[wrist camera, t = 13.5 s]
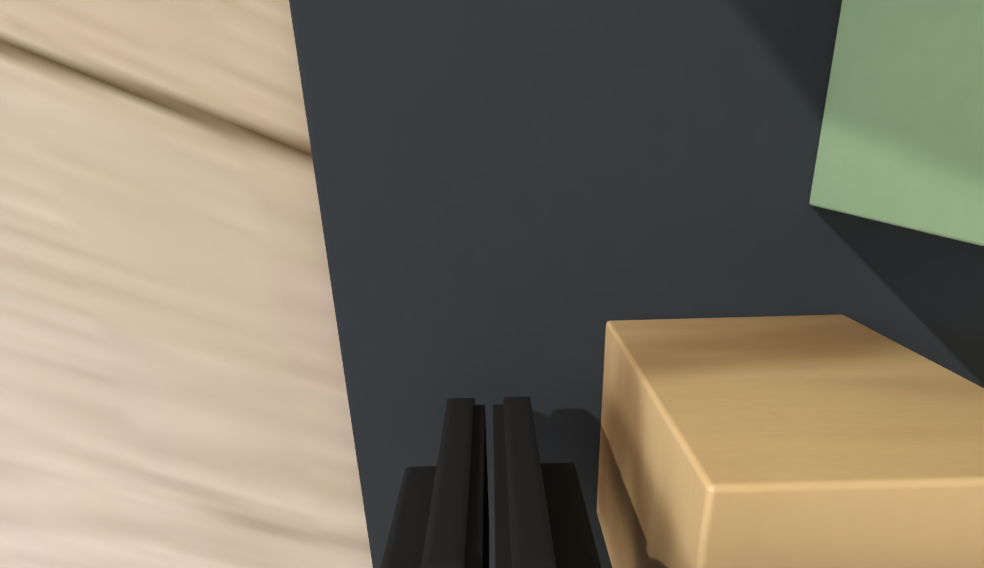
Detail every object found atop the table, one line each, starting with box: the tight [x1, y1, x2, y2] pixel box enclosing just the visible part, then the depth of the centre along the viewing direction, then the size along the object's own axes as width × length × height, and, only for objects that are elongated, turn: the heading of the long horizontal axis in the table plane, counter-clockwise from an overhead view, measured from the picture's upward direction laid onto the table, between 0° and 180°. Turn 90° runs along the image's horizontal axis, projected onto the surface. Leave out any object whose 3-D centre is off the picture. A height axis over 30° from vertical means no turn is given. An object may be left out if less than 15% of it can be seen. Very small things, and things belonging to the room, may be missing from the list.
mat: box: [289, 0, 984, 568], centre depth 12 cm, size 30×18×1 cm, turn 2°
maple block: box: [597, 314, 984, 568], centre depth 9 cm, size 5×5×5 cm
